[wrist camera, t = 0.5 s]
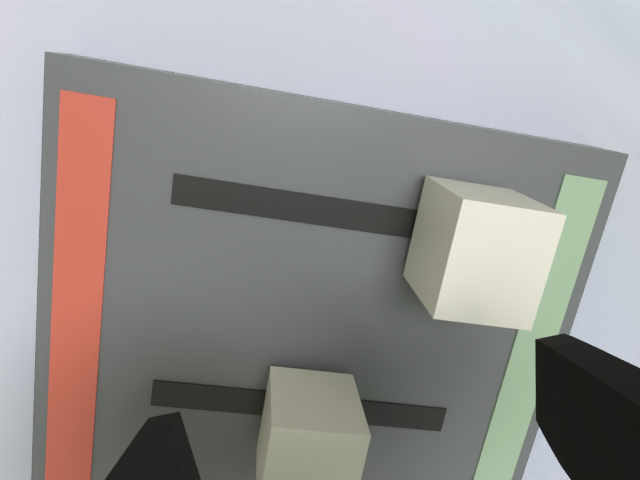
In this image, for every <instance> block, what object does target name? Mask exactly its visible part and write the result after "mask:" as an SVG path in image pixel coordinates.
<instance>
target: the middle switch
mask: <svg viewBox="0 0 640 480" xmlns="http://www.w3.org/2000/svg"><path fill="white" fill-rule="evenodd" d="M370 438H371V434H370V431H369V427H368V424H367V421H366V417H365V414H364V410H363V407H362V404H361V400H360V397H359V393H358V390H357V387H356V383H355V380H354V376H353V374H344V373H335V372H325V371H315V370H306V369H296V368H286V367H277V366H270V371H269V377H268V383H267V389H266V395H265V401H264V407H263V413H262V419H261V426H260V432H259V438H258V444H257V453H256V480H361V477H362V473H363V468H364V464H365V460H366V456H367V451H368V447H369V443H370Z"/></svg>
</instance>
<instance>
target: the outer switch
mask: <svg viewBox="0 0 640 480" xmlns="http://www.w3.org/2000/svg"><path fill="white" fill-rule="evenodd" d="M566 217H567V215H565V214H563V213H561V212H559V211H557V210H555V209H553V208H551V207H548V206H546V205H544V204H542V203H540V202H538V201H536V200H534V199H531V198H529V197H527V196H525V195H523V194H521V193H519V192H517V191H515V190H512V189H508V188H502V187H496V186H489V185H483V184H477V183H471V182H464V181H458V180H452V179H446V178H439V177H433V176H427V175H426V177H425V181H424V186H423V190H422V194H421V199H420V203H419V207H418V212H417V216H416V221H415V225H414V229H413V234H412V238H411V242H410V247H409V251H408V255H407V260H406V264H405V269H404V273H403V276H404V277H405V279H406V280H407V282H408V283H409V284H410V286H411V287H412V289H413V290H414V292H415V293H416V295H417V296H418V298H419V299H420V301H421V302H422V303H423V305H424V306H425V308H426V309H427V311H428V312H429V314H430V315H431V317H432V318H433V319H438V320H446V321H454V322H463V323H471V324H479V325H487V326H496V327H504V328H512V329H521V330H529V331H531V330H532V327H533V324H534V321H535V317H536V314H537V311H538V308H539V304H540V301H541V298H542V295H543V291H544V288H545V285H546V282H547V278H548V275H549V272H550V269H551V265H552V262H553V259H554V256H555V252H556V249H557V246H558V243H559V239H560V236H561V233H562V230H563V226H564V223H565V220H566Z"/></svg>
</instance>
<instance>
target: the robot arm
mask: <svg viewBox="0 0 640 480" xmlns="http://www.w3.org/2000/svg"><path fill="white" fill-rule="evenodd" d="M535 379H536V421H537V423H538V425H539V427H540V429H541V431H542V433H543V435H544V436H545V438H546V440H547V442H548V444H549V446H550V447H551V449H552V451H553V453H554V454H555V456H556V458H557V460H558V461H559V463H560V465H561V466H562V468H563V469H564V471H565V472H566V473H567V475H568V476H569V478H570V479H571V480H640V368H638V367H636V366H634V365H632V364H630V363H628V362H626V361H624V360H621V359H619V358H617V357H615V356H613V355H611V354H609V353H607V352H605V351H603V350H601V349H598V348H596V347H594V346H592V345H590V344H588V343H586V342H584V341H581V340H579V339H577V338H575V337H572V336H570V335H567V334H565V333H563V334H558V335H554V336H549V337H544V338H539V339H535ZM105 480H201V478H200V475H199V472H198V469H197V465H196V462H195V459H194V456H193V453H192V449H191V446H190V443H189V440H188V436H187V433H186V430H185V427H184V424H183V420H182V417H181V414H180V411H179V412H174V413H169V414H164V415H159V416H154V417H149V418H148V419H147V421H146V422H145V423H144V425H143V426H142V427H141V429H140V430H139V431H138V433H137V434H136V436H135V437H134V439H133V440H132V441H131V443H130V444H129V446H128V447H127V449H126V450H125V451H124V453H123V454H122V456H121V457H120V459H119V460H118V461H117V463H116V464H115V466H114V467H113V468H112V470H111V471H110V473H109V474H108V476H107V477H106V478H105Z"/></svg>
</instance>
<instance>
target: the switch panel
mask: <svg viewBox="0 0 640 480" xmlns="http://www.w3.org/2000/svg"><path fill="white" fill-rule="evenodd" d="M628 155H629V154H625V153H620V152H616V151H611V150H607V149H602V148H598V147H593V146H587V145H582V144H576V143H570V142H565V141H559V140H553V139H548V138H542V137H536V136H531V135H525V134H519V133H514V132H508V131H502V130H497V129H491V128H485V127H480V126H474V125H468V124H463V123H457V122H451V121H446V120H440V119H434V118H429V117H423V116H417V115H412V114H406V113H400V112H395V111H389V110H383V109H378V108H372V107H366V106H361V105H355V104H349V103H344V102H338V101H332V100H327V99H321V98H315V97H310V96H304V95H298V94H293V93H287V92H281V91H276V90H270V89H264V88H259V87H253V86H247V85H242V84H236V83H230V82H225V81H219V80H213V79H208V78H202V77H196V76H191V75H185V74H179V73H174V72H168V71H162V70H157V69H151V68H145V67H140V66H134V65H128V64H123V63H117V62H111V61H106V60H100V59H94V58H89V57H83V56H77V55H72V54H64V53H54V52H45V63H44V95H43V127H42V159H41V191H40V223H39V255H38V287H37V319H36V351H35V383H34V415H33V447H32V479H31V480H105V478H106V477H107V476H108V474H109V473H110V471H111V470H112V468H113V467H114V466H115V464H116V463H117V461H118V460H119V459H120V457H121V456H122V454H123V453H124V451H125V450H126V449H127V447H128V446H129V444H130V443H131V441H132V440H133V439H134V437H135V436H136V434H137V433H138V431H139V430H140V429H141V427H142V426H143V425H144V423H145V422H146V421H147V419H148V418H149V417H154V416H159V415H164V414H169V413H174V412H179V411H180V414H181V417H182V420H183V424H184V427H185V430H186V433H187V436H188V440H189V443H190V446H191V449H192V453H193V456H194V459H195V462H196V465H197V469H198V472H199V475H200V478H201V480H256V453H257V444H258V438H259V432H260V426H261V419H262V413H263V407H264V401H265V395H266V389H267V383H268V377H269V371H270V366H277V367H286V368H296V369H306V370H315V371H325V372H335V373H344V374H353V376H354V380H355V383H356V387H357V390H358V393H359V397H360V400H361V404H362V407H363V410H364V414H365V417H366V421H367V424H368V427H369V431H370V434H371V438H370V443H369V447H368V451H367V456H366V460H365V464H364V468H363V473H362V477H361V480H521V479H522V476H523V473H524V470H525V467H526V464H527V461H528V458H529V455H530V452H531V449H532V446H533V443H534V440H535V437H536V434H537V431H538V428H539V425H538V423H537V421H536V379H535V339H539V338H544V337H549V336H554V335H558V334H563V333H565V334H567V335H569V334H570V331H571V328H572V325H573V322H574V319H575V316H576V313H577V310H578V307H579V303H580V300H581V297H582V294H583V291H584V288H585V285H586V282H587V279H588V276H589V273H590V270H591V267H592V264H593V261H594V258H595V255H596V252H597V249H598V246H599V243H600V240H601V237H602V234H603V231H604V228H605V225H606V222H607V219H608V216H609V213H610V210H611V206H612V203H613V200H614V197H615V194H616V191H617V188H618V185H619V182H620V179H621V176H622V173H623V170H624V167H625V164H626V161H627V158H628ZM426 175H427V176H433V177H439V178H446V179H452V180H458V181H464V182H471V183H477V184H483V185H489V186H496V187H502V188H508V189H512V190H515V191H517V192H519V193H521V194H523V195H525V196H527V197H529V198H531V199H534V200H536V201H538V202H540V203H542V204H544V205H546V206H548V207H551V208H553V209H555V210H557V211H559V212H561V213H563V214H565V215H567V217H566V220H565V223H564V226H563V230H562V233H561V236H560V239H559V243H558V246H557V249H556V252H555V256H554V259H553V262H552V265H551V269H550V272H549V275H548V278H547V282H546V285H545V288H544V291H543V295H542V298H541V301H540V304H539V308H538V311H537V314H536V317H535V321H534V324H533V327H532V330H531V331H529V330H521V329H512V328H504V327H496V326H487V325H479V324H471V323H463V322H454V321H446V320H438V319H433V318H432V317H431V315H430V314H429V312H428V311H427V309H426V308H425V306H424V305H423V303H422V302H421V301H420V299H419V298H418V296H417V295H416V293H415V292H414V290H413V289H412V287H411V286H410V284H409V283H408V282H407V280H406V279H405V277H404V276H403V273H404V269H405V264H406V260H407V255H408V251H409V247H410V242H411V238H412V234H413V229H414V225H415V221H416V216H417V212H418V207H419V203H420V199H421V194H422V190H423V186H424V181H425V177H426Z"/></svg>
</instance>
